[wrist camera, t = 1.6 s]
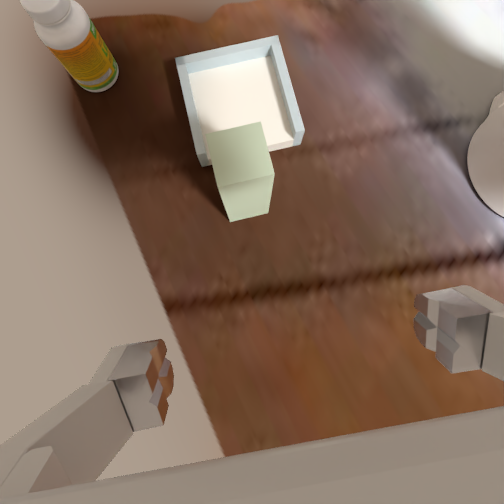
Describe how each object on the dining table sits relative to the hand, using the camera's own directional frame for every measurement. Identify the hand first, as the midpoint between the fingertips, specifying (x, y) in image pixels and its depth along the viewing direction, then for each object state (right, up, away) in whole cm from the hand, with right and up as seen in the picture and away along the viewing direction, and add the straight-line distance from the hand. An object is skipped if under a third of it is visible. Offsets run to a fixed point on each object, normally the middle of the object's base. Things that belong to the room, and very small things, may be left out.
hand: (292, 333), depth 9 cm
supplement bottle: (-20, +25, +26) cm, 42 cm away
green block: (-2, +9, +24) cm, 26 cm away
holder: (-3, +20, +25) cm, 32 cm away
